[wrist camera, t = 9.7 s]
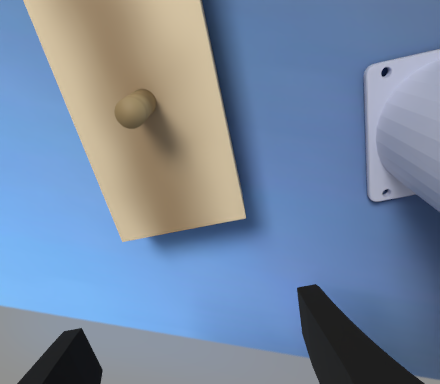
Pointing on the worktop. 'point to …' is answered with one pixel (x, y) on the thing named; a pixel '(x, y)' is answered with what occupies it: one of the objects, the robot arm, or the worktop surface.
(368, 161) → the robot arm
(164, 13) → the body
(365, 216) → the worktop surface
